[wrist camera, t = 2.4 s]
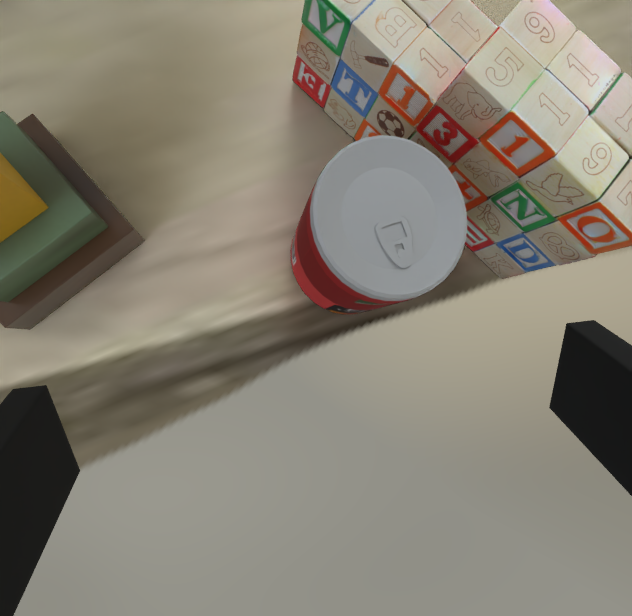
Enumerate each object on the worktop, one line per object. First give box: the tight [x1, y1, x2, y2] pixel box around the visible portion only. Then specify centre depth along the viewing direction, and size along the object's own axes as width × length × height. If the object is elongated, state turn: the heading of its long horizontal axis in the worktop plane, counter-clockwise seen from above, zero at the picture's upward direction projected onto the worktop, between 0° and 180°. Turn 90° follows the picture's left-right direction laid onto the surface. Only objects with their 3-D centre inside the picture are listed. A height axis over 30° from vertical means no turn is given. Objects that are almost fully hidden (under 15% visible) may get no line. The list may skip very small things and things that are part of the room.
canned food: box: [291, 135, 467, 314], centre depth 27 cm, size 8×8×11 cm
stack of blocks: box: [293, 0, 632, 279], centre depth 28 cm, size 21×6×12 cm, turn 49°
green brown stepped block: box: [0, 111, 145, 330], centre depth 26 cm, size 9×9×6 cm
